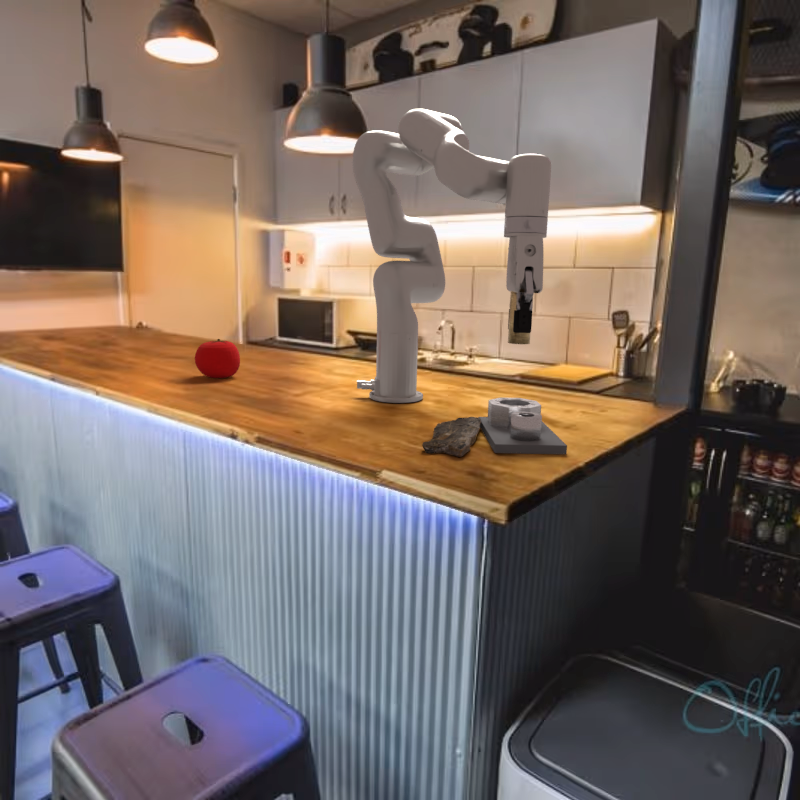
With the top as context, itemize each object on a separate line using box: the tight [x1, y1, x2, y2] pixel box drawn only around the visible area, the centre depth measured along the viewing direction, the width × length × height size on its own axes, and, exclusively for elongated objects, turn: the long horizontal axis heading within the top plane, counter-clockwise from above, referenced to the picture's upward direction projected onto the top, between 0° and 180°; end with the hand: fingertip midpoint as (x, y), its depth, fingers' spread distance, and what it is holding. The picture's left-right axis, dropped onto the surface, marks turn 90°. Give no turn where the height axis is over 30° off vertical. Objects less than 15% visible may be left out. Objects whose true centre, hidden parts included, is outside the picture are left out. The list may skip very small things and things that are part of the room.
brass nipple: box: [507, 289, 531, 345], centre depth 113 cm, size 4×4×10 cm
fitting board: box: [477, 416, 568, 455], centre depth 113 cm, size 12×20×2 cm, turn 1°
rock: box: [421, 416, 481, 458], centre depth 110 cm, size 21×8×3 cm, turn 166°
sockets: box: [487, 397, 543, 441], centre depth 113 cm, size 9×18×4 cm, turn 1°
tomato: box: [194, 338, 241, 379], centre depth 167 cm, size 12×12×10 cm
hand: (519, 330), depth 114 cm, fingers closed on brass nipple, 4 cm apart
